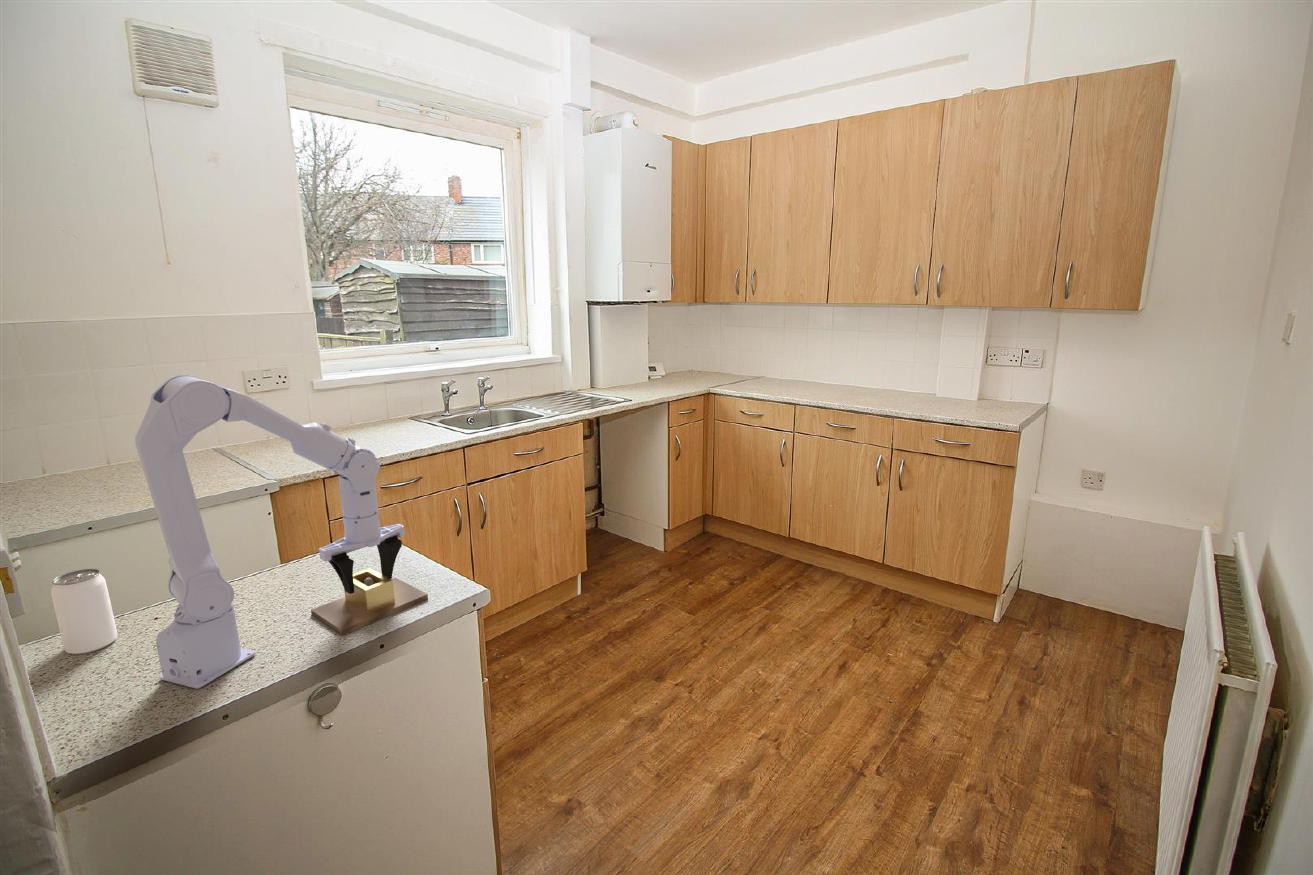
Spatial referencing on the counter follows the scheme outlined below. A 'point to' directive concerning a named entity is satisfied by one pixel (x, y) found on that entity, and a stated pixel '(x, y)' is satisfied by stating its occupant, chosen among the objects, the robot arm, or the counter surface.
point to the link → (371, 591)
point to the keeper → (352, 618)
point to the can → (83, 611)
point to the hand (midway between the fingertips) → (368, 584)
